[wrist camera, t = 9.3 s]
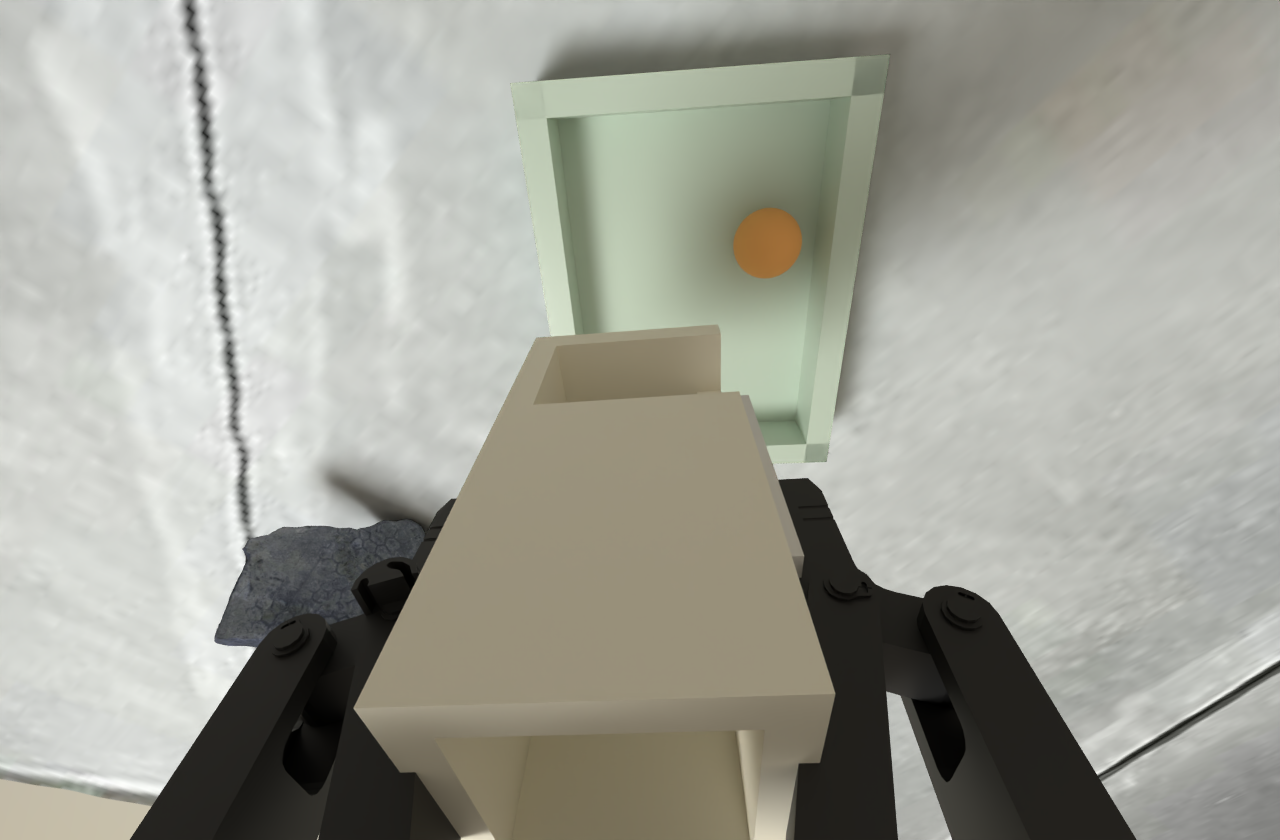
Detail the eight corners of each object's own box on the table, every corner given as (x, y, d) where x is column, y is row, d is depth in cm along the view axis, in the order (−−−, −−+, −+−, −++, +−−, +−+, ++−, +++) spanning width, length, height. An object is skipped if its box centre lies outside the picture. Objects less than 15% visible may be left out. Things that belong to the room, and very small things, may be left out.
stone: (502, 530, 35) (450, 661, 26) (491, 586, 38) (442, 721, 29) (296, 483, 33) (170, 606, 25) (302, 546, 36) (191, 676, 28)
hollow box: (536, 337, 16) (353, 708, 6) (717, 324, 16) (836, 693, 6) (565, 478, 20) (476, 876, 9) (718, 470, 19) (794, 873, 9)
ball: (712, 247, 23) (731, 238, 21) (757, 199, 23) (783, 185, 20) (753, 292, 24) (777, 291, 21) (797, 247, 24) (827, 240, 21)
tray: (530, 89, 22) (509, 83, 19) (856, 65, 21) (890, 54, 18) (580, 437, 31) (571, 470, 28) (809, 428, 30) (826, 461, 27)
